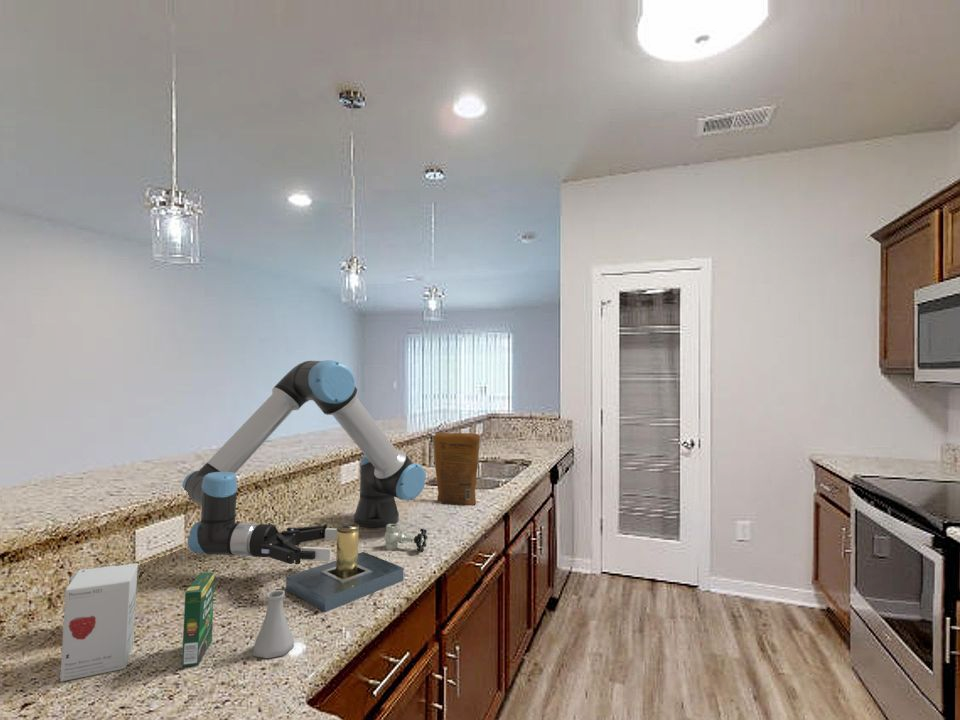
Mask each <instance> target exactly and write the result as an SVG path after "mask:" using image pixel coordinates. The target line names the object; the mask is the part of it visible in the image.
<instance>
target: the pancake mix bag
mask: <svg viewBox="0 0 960 720" xmlns="http://www.w3.org/2000/svg"><path fill="white" fill-rule="evenodd" d="M480 442H481V435H480V434H478V433H467V432H466V433H465V432H453V433H452V432H451V433H448V432H435V435H434V434H433V435H432V447H433V461H434V469H435V470H434V471H435V475H436V476H435V478H436V486H437V492H438V494H437V499H436V500H437V502H438V503H440V502H441V504H445V503H447V504H449V505H456V504H457V505H458V506H465V505H471V506H475V505H474V504H476V505H477V500H476V498H477V497H476V486H477V474H478V470H479V469H478V468H479V467H478V466H479V459H480V458H479V457H480V456H479V455H480V449H481V448H480V446H481V443H480Z"/></svg>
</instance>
